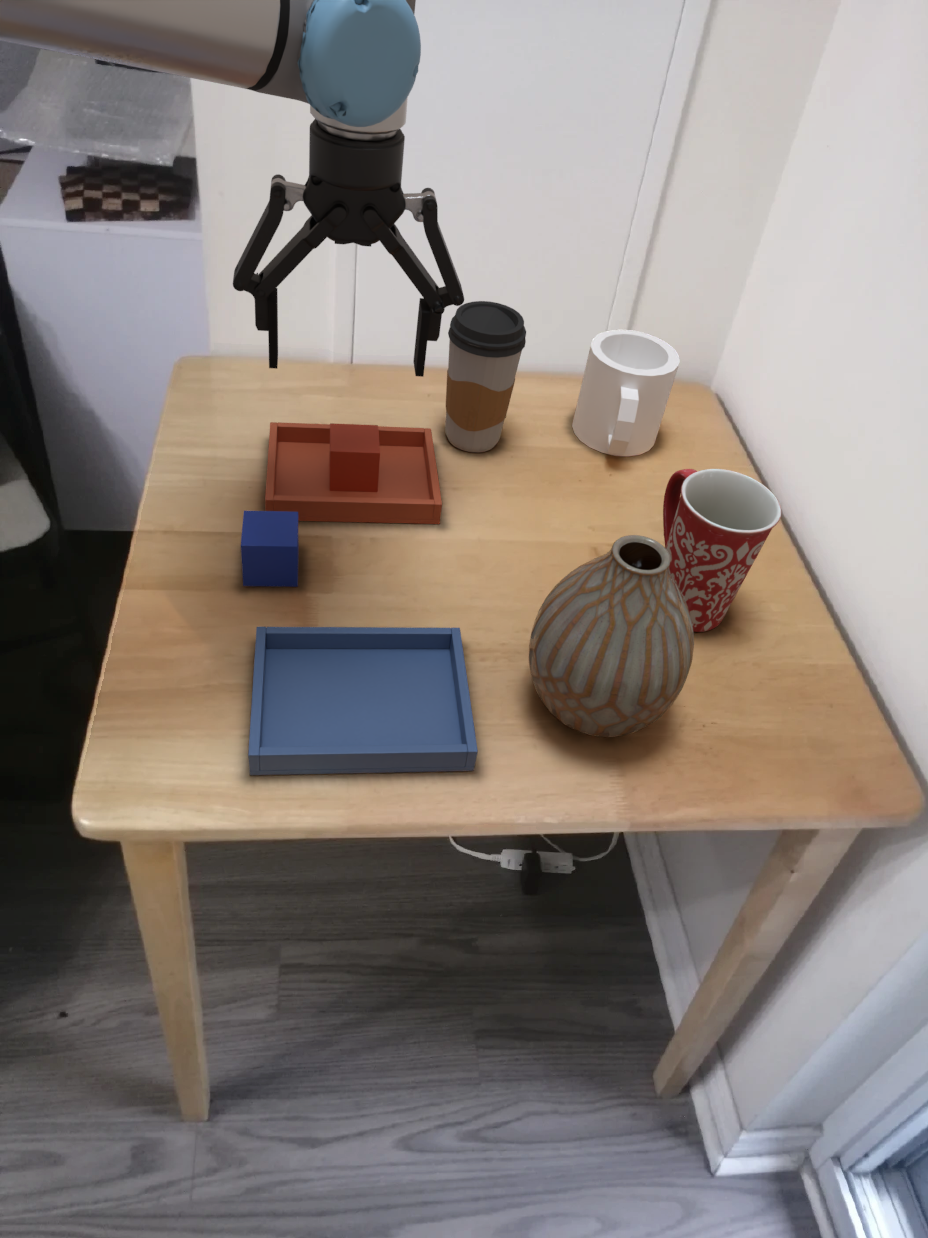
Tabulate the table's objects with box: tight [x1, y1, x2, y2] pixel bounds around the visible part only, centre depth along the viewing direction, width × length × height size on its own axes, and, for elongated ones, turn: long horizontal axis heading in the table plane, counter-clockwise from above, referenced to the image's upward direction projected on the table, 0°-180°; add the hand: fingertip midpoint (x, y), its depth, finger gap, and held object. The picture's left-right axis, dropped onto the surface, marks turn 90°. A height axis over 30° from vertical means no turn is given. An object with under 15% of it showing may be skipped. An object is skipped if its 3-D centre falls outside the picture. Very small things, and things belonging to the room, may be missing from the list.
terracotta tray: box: [264, 421, 443, 525], centre depth 99 cm, size 18×14×3 cm
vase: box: [528, 534, 695, 738], centre depth 76 cm, size 13×13×18 cm
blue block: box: [240, 509, 300, 588], centre depth 87 cm, size 5×5×5 cm
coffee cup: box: [444, 300, 527, 453], centre depth 103 cm, size 8×8×15 cm
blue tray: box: [247, 626, 479, 776], centre depth 78 cm, size 18×14×3 cm
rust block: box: [329, 422, 380, 492], centre depth 98 cm, size 5×5×5 cm
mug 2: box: [662, 468, 782, 633], centre depth 89 cm, size 13×9×14 cm
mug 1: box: [571, 328, 680, 457], centre depth 108 cm, size 14×10×11 cm
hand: (346, 365), depth 89 cm, fingers open, 13 cm apart
